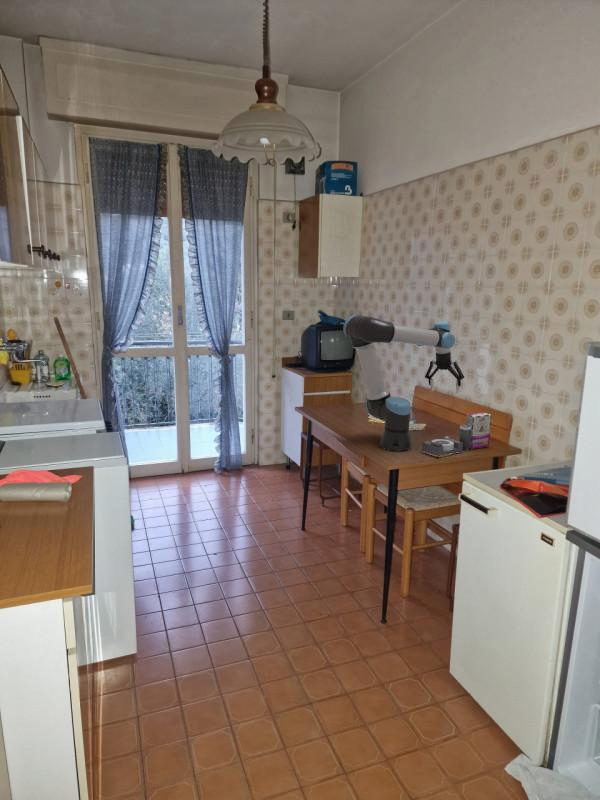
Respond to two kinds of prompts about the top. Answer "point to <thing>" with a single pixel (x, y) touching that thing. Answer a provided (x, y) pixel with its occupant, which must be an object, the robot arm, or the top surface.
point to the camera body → (442, 446)
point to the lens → (465, 436)
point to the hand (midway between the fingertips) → (445, 391)
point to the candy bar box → (479, 430)
